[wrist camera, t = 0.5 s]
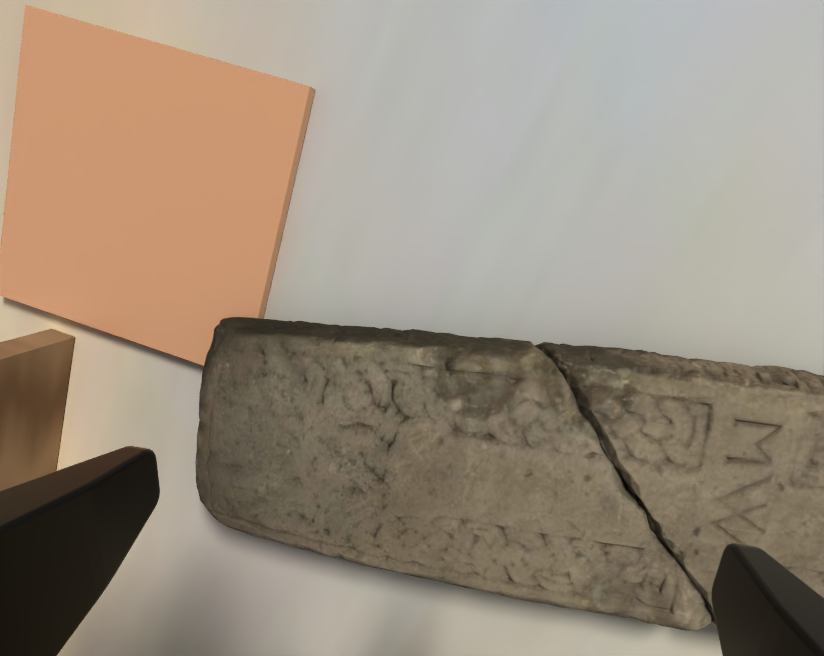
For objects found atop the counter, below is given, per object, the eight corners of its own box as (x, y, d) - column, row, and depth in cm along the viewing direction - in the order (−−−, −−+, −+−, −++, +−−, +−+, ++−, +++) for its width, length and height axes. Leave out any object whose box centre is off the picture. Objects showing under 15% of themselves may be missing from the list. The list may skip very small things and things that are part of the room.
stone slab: (193, 301, 21) (1140, 440, 17) (234, 288, 24) (1043, 402, 20) (191, 544, 24) (1012, 722, 19) (229, 504, 27) (944, 649, 22)
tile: (250, 375, 25) (244, 379, 24) (7, 292, 26) (-5, 294, 25) (315, 89, 22) (310, 86, 21) (37, 10, 23) (25, 5, 22)
